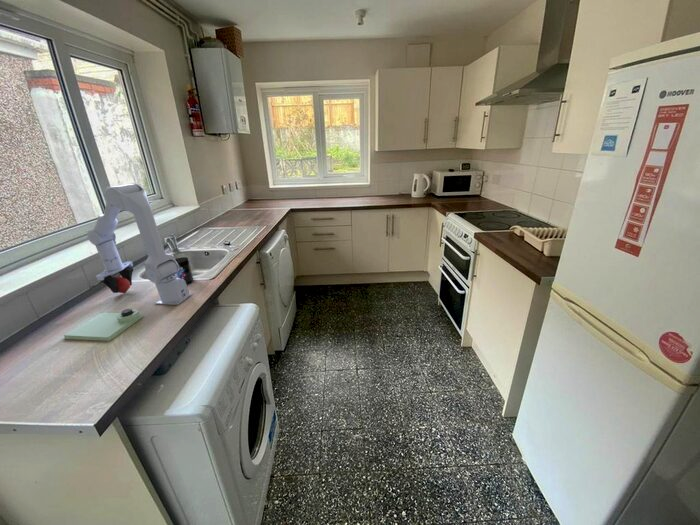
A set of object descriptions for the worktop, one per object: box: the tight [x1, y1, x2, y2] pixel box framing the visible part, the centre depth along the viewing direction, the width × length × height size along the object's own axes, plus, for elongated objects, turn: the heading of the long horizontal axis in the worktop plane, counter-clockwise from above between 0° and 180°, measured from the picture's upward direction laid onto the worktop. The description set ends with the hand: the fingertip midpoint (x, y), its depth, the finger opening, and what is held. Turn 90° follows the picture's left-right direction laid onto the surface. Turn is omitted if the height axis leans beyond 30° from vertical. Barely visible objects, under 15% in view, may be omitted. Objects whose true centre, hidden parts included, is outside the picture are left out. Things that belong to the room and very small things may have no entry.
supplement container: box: [175, 256, 195, 285], centre depth 124 cm, size 7×7×10 cm
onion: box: [115, 274, 131, 294], centre depth 117 cm, size 6×6×8 cm
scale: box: [63, 308, 143, 342], centre depth 95 cm, size 16×13×3 cm
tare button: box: [120, 308, 133, 317], centre depth 97 cm, size 3×3×2 cm
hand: (122, 288), depth 118 cm, fingers closed on onion, 6 cm apart
